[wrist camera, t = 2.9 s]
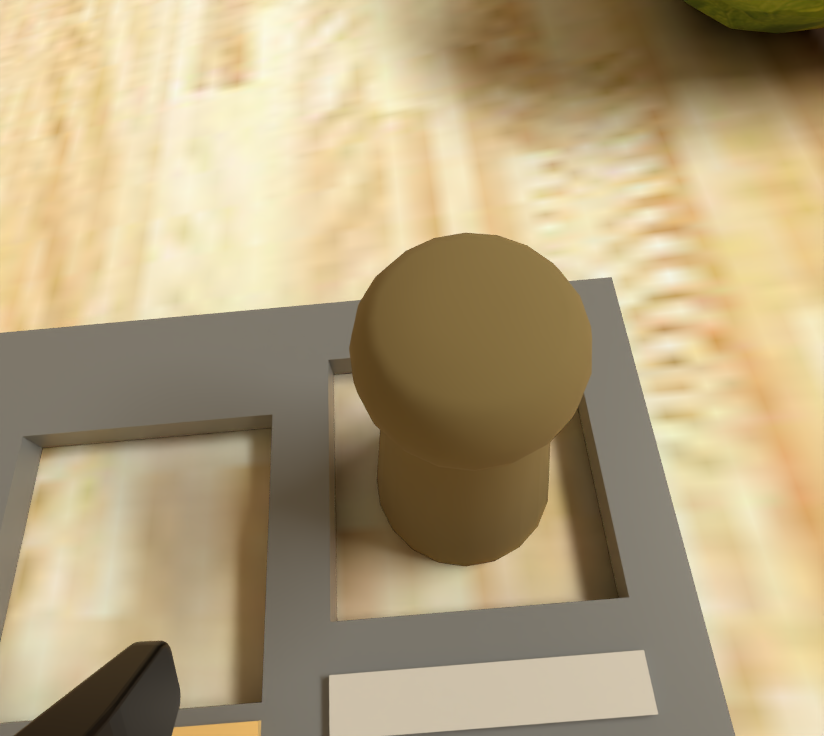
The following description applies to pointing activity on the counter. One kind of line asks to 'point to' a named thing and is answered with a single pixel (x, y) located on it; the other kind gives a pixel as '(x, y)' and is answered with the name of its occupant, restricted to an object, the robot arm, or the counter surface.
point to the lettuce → (764, 14)
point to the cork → (468, 390)
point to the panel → (316, 537)
